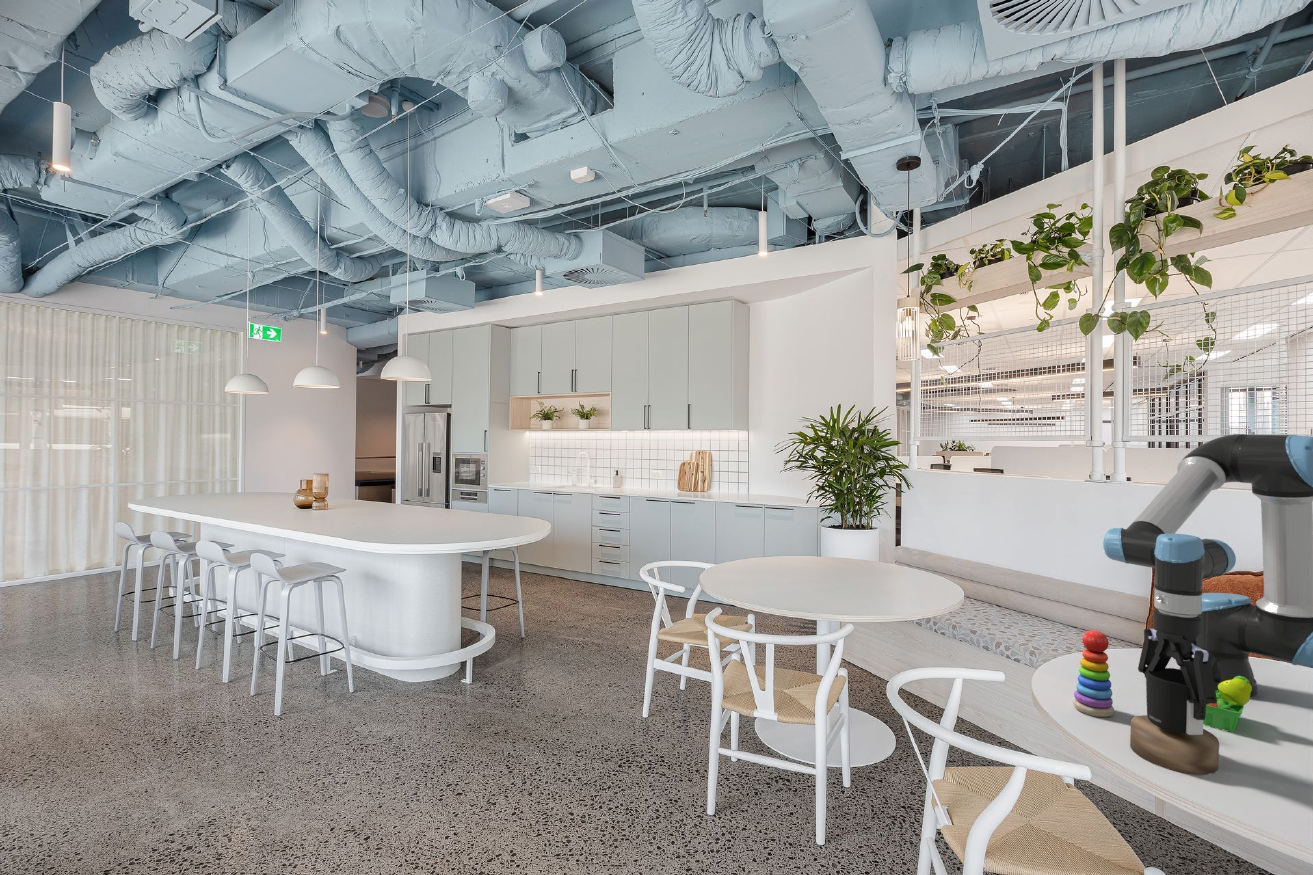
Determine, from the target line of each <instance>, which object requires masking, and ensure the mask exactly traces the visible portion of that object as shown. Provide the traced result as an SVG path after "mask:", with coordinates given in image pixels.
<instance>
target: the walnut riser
mask: <svg viewBox="0 0 1313 875" xmlns="http://www.w3.org/2000/svg"><path fill="white" fill-rule="evenodd" d="M1129 737H1130V739H1129V741H1130V742H1129V746H1130V749H1131V751H1132V752H1133V753H1135V754H1136V755H1137V756H1138V755H1139V756H1138V757H1140V758H1142V759H1143V760H1145V761H1147V762H1149V763H1151V764H1153V765H1155V766H1158V767H1161V768H1164V769H1167V770H1171V771H1174V772H1179V773H1183V774H1188V775H1189V774H1190V775H1211V774H1215V773H1216V772H1218V770H1219V760H1220V759H1219V757H1220V741H1219V738H1218V737H1217V736H1215V735H1214V734H1213V733H1211V732H1210V731H1208V730H1207V729H1205V728H1203V735H1189V734H1184V733H1177V732H1173V731H1169V730H1166V729H1163V728H1160V727H1158V726H1156V725H1154V724H1153V723H1152V722H1150V720H1149V719H1148V717H1147V714H1144V715H1137V716H1134V717H1132V719H1131V720H1130V734H1129Z"/></svg>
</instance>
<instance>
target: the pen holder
mask: <svg viewBox="0 0 1313 875" xmlns="http://www.w3.org/2000/svg"><path fill="white" fill-rule="evenodd" d="M1145 682H1146V683H1145V689H1146V694H1145V695H1146V715H1147V717H1148V719H1149V720H1150V722H1152V723H1153V724H1154V725H1156V726H1158V727H1160V728H1163V729H1166V730H1169V731H1173V732H1177V733H1184V734H1187V733H1186V723H1187V700H1191V697H1190V694H1189V687H1188V686H1187V685H1186V682H1185V679H1184V676H1183V673H1182V670H1180V668H1174V667H1166V668H1165V670H1162V671H1156V672H1153V671H1149V670H1146V677H1145ZM1197 696H1199V694H1198V695H1197Z"/></svg>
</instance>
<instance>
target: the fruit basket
mask: <svg viewBox="0 0 1313 875" xmlns="http://www.w3.org/2000/svg"><path fill="white" fill-rule="evenodd" d="M1249 682H1250V681H1249V680H1248V679H1247V678H1245V677H1242V676H1236V677H1234V679H1232V680H1227V681H1223V682H1221V683H1219V685H1218V689H1219V691H1218V690H1217V691H1216V697H1217V703H1216V704H1206V718H1205V720H1203V726H1206V727H1212V728H1215V729H1219V730H1223V731H1228V732H1230V733H1234V732H1235V730H1236V728H1237V724H1238V722H1239V721H1240V720H1239V719H1240V717H1242V714H1243V710H1244V708H1245V705H1247V704H1248V702H1249V701H1250V698H1251V696H1250V693H1251V691H1252V686H1251V685H1250V683H1249Z"/></svg>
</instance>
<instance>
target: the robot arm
mask: <svg viewBox="0 0 1313 875" xmlns="http://www.w3.org/2000/svg"><path fill="white" fill-rule="evenodd" d="M1176 469H1177V473H1176V474H1174V476H1173V477H1172V478H1171V479H1170V480H1169V481H1168V483H1166V485H1164V487H1163V488H1162V489H1161V490H1160V492H1158V494H1157V495H1156V496H1155V497H1154V498H1153V499H1152V500H1151V502H1149V504H1148V505H1147V506H1146V507H1145V508H1144V509H1143V511H1141V513H1139V515H1138V516H1137V517H1136V518H1135V519H1134V521H1133V522H1132V523H1131V524H1130V525H1129V526H1128V527H1126V528H1123V527H1120V528H1119V527H1117V528H1116V527H1113V528H1110V529H1108V530H1107V531H1106V533H1105V535H1104V537H1103V541H1102V542H1103V543H1102V544H1103V551H1104V554H1105V555H1106V557H1107V558H1109V559H1110V560H1112V561H1115V562H1116V561H1117V562H1121V563H1124V564H1126V565H1127V564H1128V565H1129V564H1130V565H1136V566H1141V567H1142V566H1143V567H1147V568H1154V597H1153V598H1154V599H1153V600H1154V601H1153V604H1154V605H1153V607H1155V609H1154V610H1153V621H1152V623H1153V624H1152V626H1153V627H1154V628H1144V629H1143V637H1144V640H1143V645H1142V648H1141V649H1142V650H1141V654H1140V656H1139V662H1138V667H1137V670H1138V672H1139V673H1142V674H1143V675H1144V678H1146V670H1149V671H1153V672H1156V671H1162V670H1165V668H1167V666H1168V665H1169V662H1170V661H1171V659H1173V660H1175V662H1176V664H1177V666H1179V669H1180V670H1182V673H1183V676H1184V679H1185V682H1186V685H1187V686H1188V687H1189V694H1190V697H1191V700H1187V723H1186V733H1187V734H1189V735H1203V729H1204V724H1203V720H1205V718H1206V704H1216V703H1217V697H1216V691H1217V690H1218V691H1219V689H1218V685H1219V683H1221V682H1223V681H1227V680H1232V679H1234V677H1236V676H1242V677H1245V678H1247V679H1248V680H1249V681H1250V682H1249V683H1250V685H1251V686H1252V691H1251V693H1250V697H1253V696H1255V695H1257V694H1258V682H1257V680H1256V679H1255V675H1254V672H1253V669H1252V666H1251V664H1250V659H1249V653H1250V654H1255V655H1257V656H1261V657H1266V658H1269V659H1272V660H1275V661H1276V660H1277V661H1281V662H1284V663H1287V664H1291V665H1293V666H1301V667H1306V668H1310V669H1313V436H1309V435H1308V436H1307V435H1297V434H1245V433H1233V434H1228V435H1223V436H1219V437H1217V438H1214V439H1211V440H1209V441H1206V442H1204V443H1202V444H1201V445H1199V446H1197V447H1196V448H1194V449H1193V450H1191V451H1190V452H1188V453H1187V454H1186V455H1185V456H1184V457H1183V458H1182V459H1181V460H1180V462H1179V463H1178V465H1177V468H1176ZM1227 483H1242V484H1251V493H1252V495H1254V496H1256V497H1257V498H1258V499H1259V500H1260V507H1261V510H1260V512H1261V530H1262V531H1261V537H1262V540H1261V542H1262V567H1263V569H1262V570H1263V571H1262V573H1263V597H1261V598H1258V600H1256V602H1255V605H1254V604H1252V602H1253V601H1252V600H1251V598H1250V597H1249V596H1247V595H1246V596H1245V595H1243V594H1236V593H1226V592H1204V593H1203V582H1204V581H1203V580H1204V579H1208V578H1209V579H1210V578H1215V577H1217V578H1218V577H1221V576H1223V575H1225V574H1227V573H1229V572H1230V571H1232V570H1233V568H1234V567H1235V566H1236V563H1237V562H1236V561H1237V558H1236V554H1235V551H1234V549H1232V546H1230V545H1229V544H1228V543H1226V542H1224V541H1222V540H1219V539H1214V538H1211V539H1210V538H1203V539H1201V538H1200V537H1198V536H1196V535H1191V534H1183V533H1177V532H1178V531H1179V529H1180V528H1181V527H1182V526H1183V525H1184V523H1185V522H1186V521H1187V520H1188V519H1189V518H1190V516H1191V515H1192V514H1193V513H1194V512H1195V510H1197V509H1198V507H1199V506H1200V504H1201V503H1202V502H1203V501H1204V500H1205V499H1206V497H1207V496H1208V495H1209V494H1211V491H1215V490H1218V489H1220V488H1221V487H1223V485H1224V484H1227ZM1198 694H1199V696H1197V695H1198Z"/></svg>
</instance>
